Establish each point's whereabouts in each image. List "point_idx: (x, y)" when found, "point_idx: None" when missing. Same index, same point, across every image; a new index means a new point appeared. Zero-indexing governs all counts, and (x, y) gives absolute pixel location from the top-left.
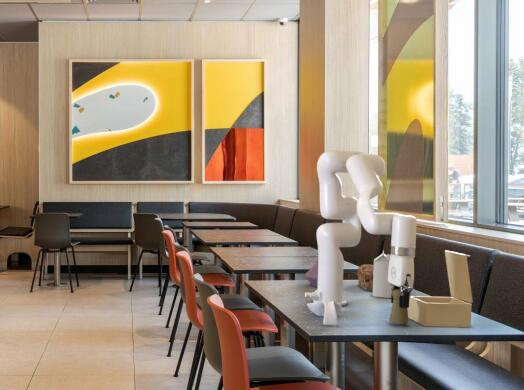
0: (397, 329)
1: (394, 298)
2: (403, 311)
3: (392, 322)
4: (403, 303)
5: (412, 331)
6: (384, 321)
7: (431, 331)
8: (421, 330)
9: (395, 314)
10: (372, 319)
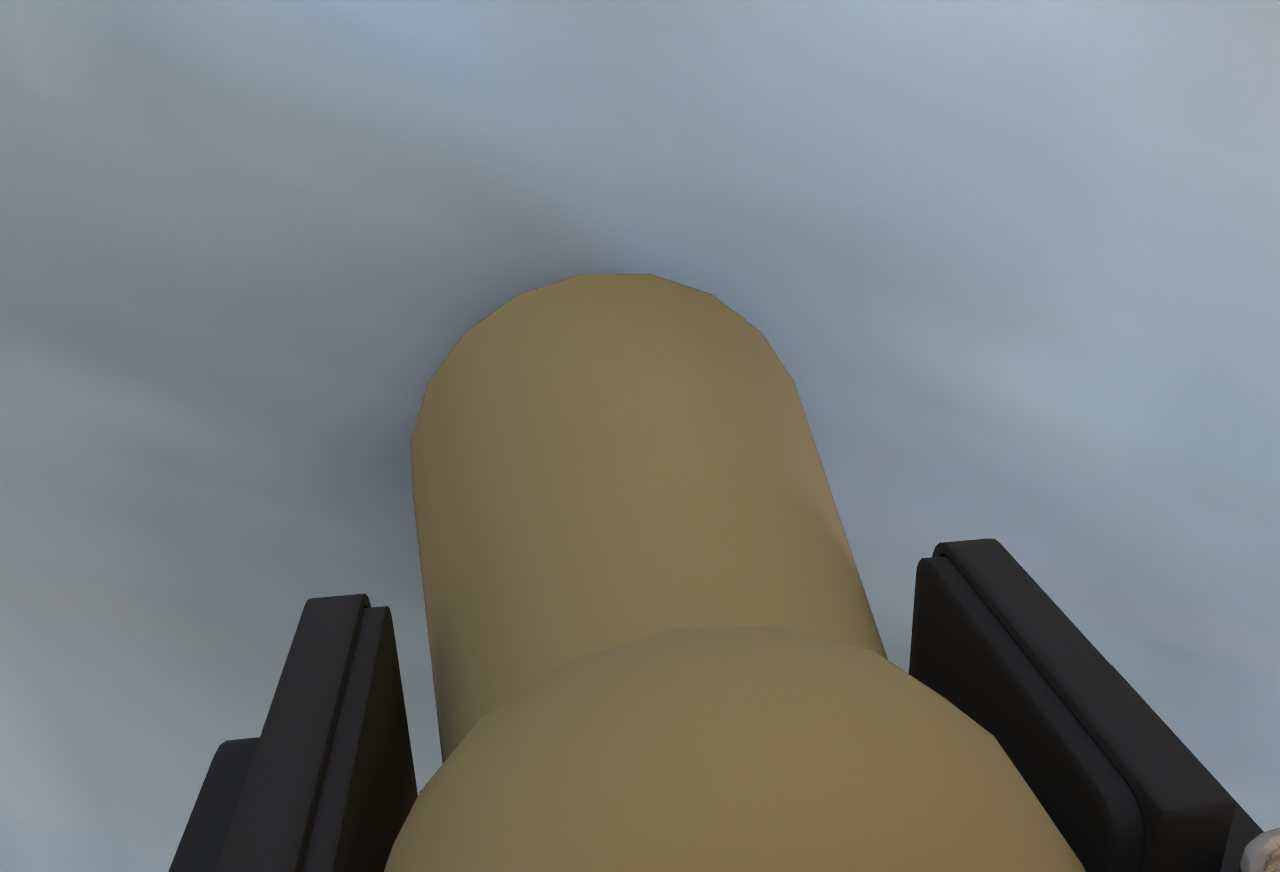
0: (159, 267)
1: (630, 644)
2: (430, 648)
3: (518, 297)
4: (209, 780)
5: (51, 524)
6: (919, 252)
7: (168, 849)
8: (204, 714)
9: (484, 416)
10: (1110, 36)
